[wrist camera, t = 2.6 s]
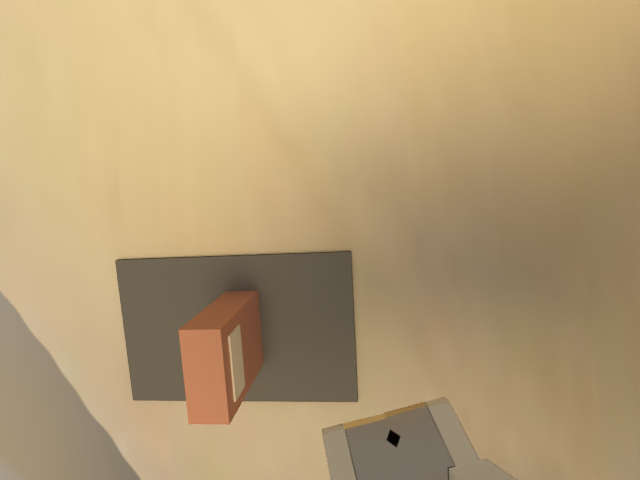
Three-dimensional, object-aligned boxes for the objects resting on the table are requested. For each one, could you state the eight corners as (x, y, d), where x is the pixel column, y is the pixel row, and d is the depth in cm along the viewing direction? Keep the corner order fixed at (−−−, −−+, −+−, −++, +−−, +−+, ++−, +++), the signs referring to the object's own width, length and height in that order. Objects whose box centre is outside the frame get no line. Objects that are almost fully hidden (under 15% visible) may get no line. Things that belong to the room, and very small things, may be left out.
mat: (350, 251, 38) (350, 252, 38) (357, 399, 40) (357, 401, 40) (117, 259, 41) (115, 260, 41) (135, 398, 43) (133, 400, 43)
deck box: (259, 290, 39) (222, 329, 30) (265, 363, 40) (231, 424, 31) (226, 291, 40) (178, 329, 30) (232, 363, 41) (188, 423, 31)
